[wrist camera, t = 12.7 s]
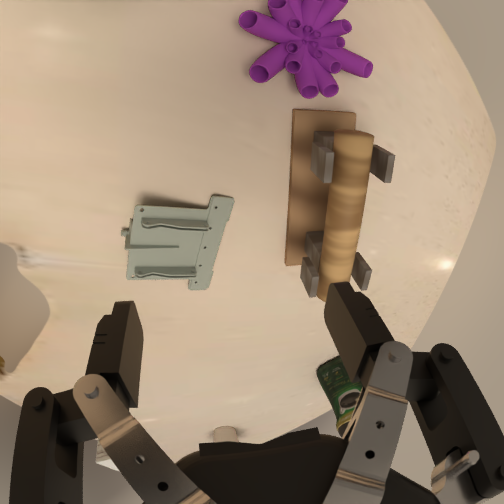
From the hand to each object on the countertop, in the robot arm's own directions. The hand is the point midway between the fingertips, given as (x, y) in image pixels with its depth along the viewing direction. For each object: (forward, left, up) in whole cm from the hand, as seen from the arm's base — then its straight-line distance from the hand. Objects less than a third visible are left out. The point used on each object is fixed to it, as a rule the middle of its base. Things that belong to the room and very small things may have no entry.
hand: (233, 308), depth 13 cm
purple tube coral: (-13, +10, -28) cm, 33 cm away
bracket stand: (+7, +14, -28) cm, 32 cm away
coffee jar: (+47, +24, -28) cm, 60 cm away
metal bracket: (+13, -5, -29) cm, 32 cm away
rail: (+7, +14, -21) cm, 26 cm away
